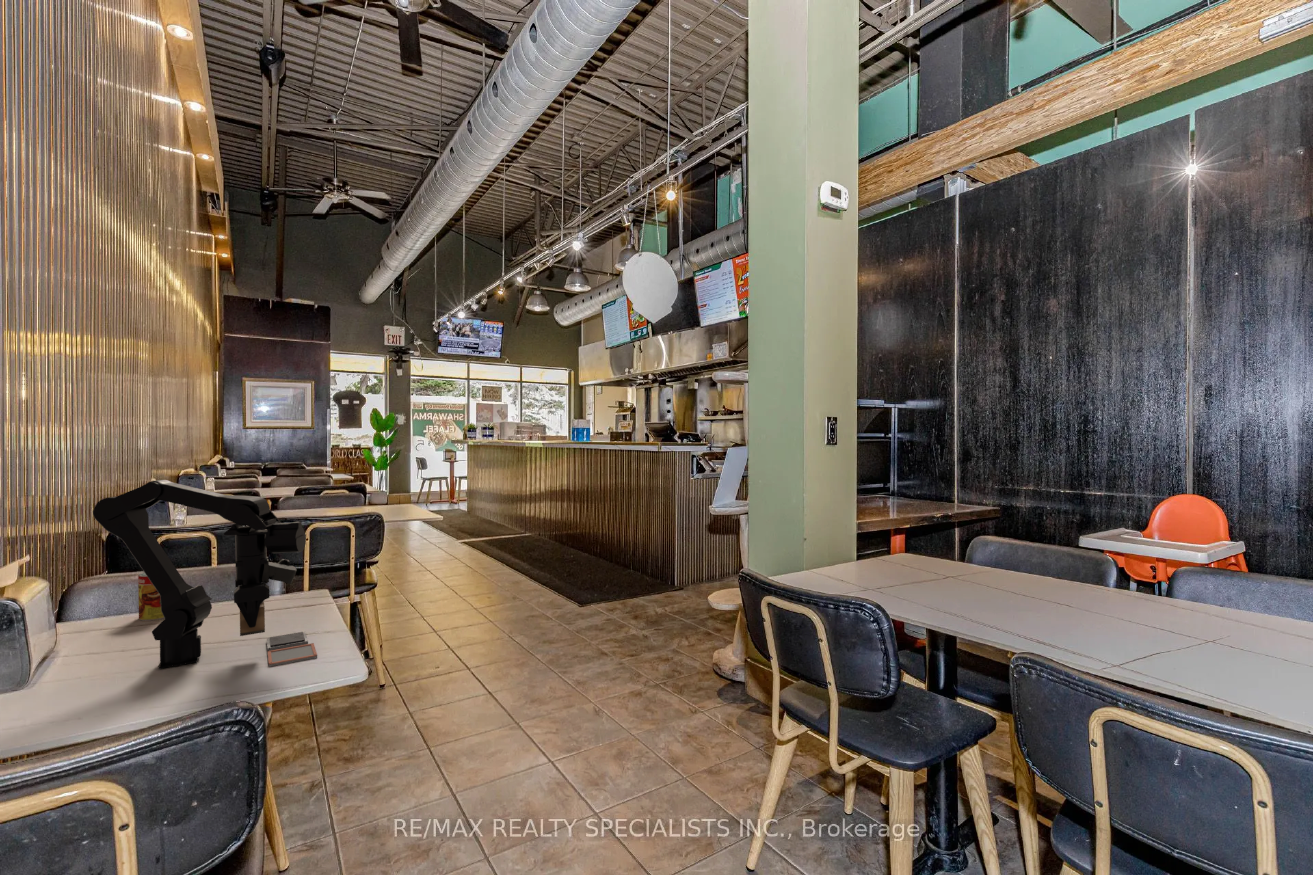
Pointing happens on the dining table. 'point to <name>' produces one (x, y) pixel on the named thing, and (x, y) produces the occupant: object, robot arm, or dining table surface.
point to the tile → (291, 654)
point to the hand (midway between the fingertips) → (252, 624)
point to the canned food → (148, 599)
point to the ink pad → (286, 641)
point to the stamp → (259, 624)
